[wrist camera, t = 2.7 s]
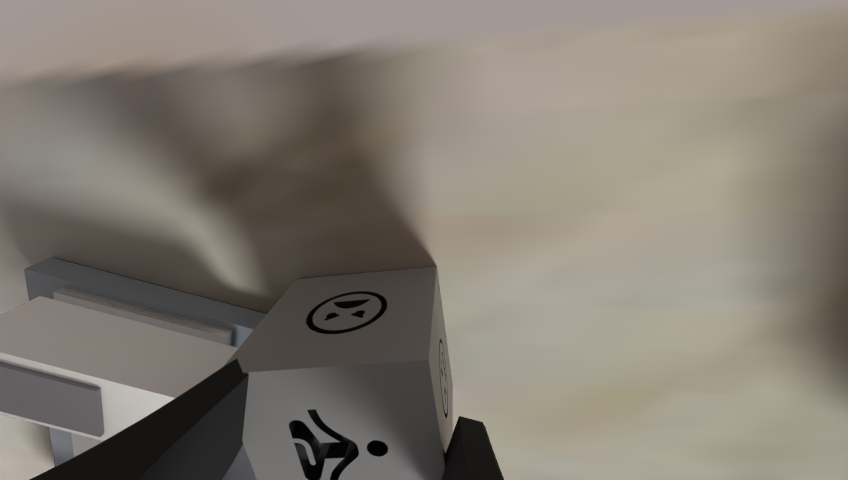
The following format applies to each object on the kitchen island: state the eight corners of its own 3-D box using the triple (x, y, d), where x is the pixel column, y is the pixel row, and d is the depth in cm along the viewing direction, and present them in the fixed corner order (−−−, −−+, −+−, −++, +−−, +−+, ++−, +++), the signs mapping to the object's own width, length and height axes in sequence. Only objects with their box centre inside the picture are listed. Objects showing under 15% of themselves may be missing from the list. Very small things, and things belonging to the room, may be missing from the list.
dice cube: (295, 279, 14) (216, 374, 9) (436, 266, 13) (428, 359, 9) (326, 392, 16) (272, 521, 11) (452, 384, 15) (452, 516, 10)
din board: (256, 549, 20) (241, 584, 18) (82, 504, 20) (53, 535, 18) (287, 319, 15) (269, 344, 13) (52, 257, 15) (8, 275, 13)
